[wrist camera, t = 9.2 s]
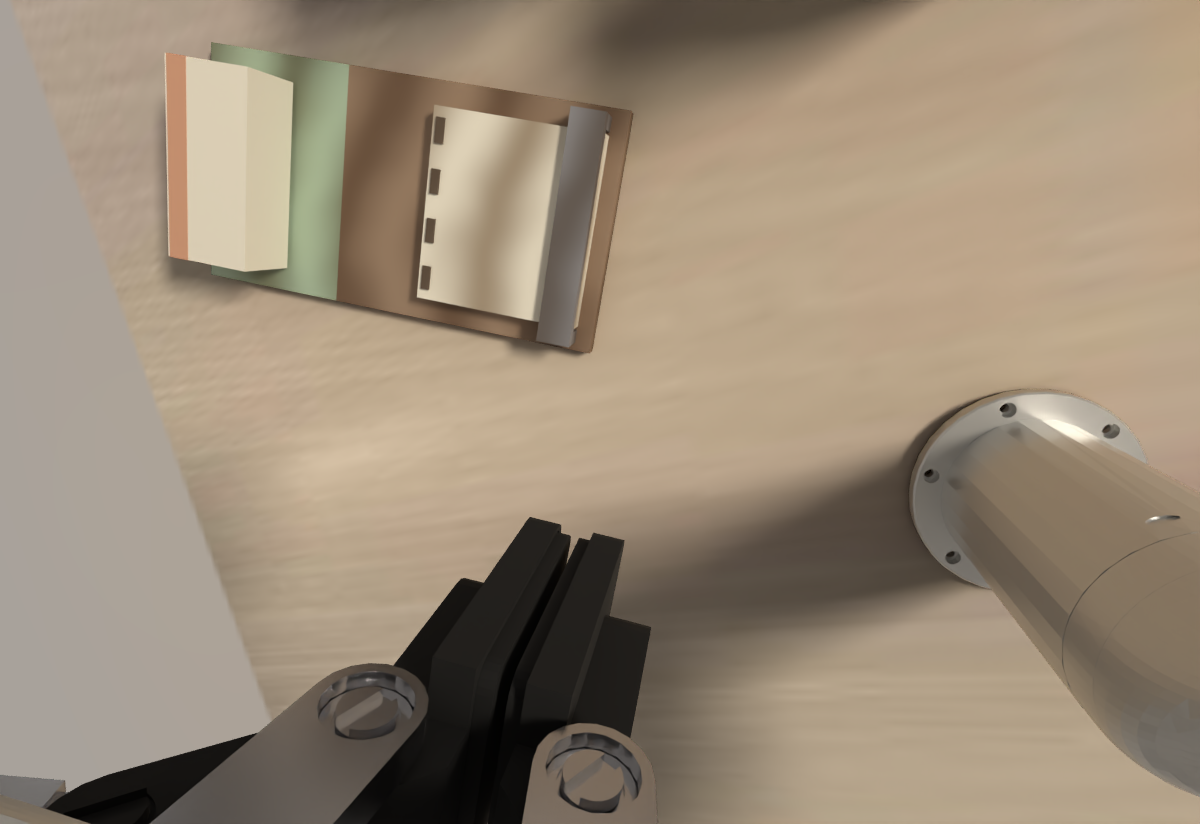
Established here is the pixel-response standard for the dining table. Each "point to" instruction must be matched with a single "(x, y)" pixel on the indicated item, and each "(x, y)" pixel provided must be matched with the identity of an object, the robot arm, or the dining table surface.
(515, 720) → the robot arm
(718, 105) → the dining table surface
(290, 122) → the stub
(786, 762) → the dining table surface
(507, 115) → the board
